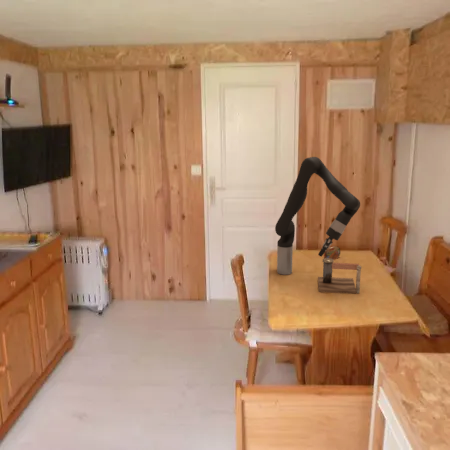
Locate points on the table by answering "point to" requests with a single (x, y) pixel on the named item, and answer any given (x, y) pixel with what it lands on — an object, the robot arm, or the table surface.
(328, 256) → the tin
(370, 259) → the table surface
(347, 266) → the capstan
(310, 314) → the table surface
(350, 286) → the base
